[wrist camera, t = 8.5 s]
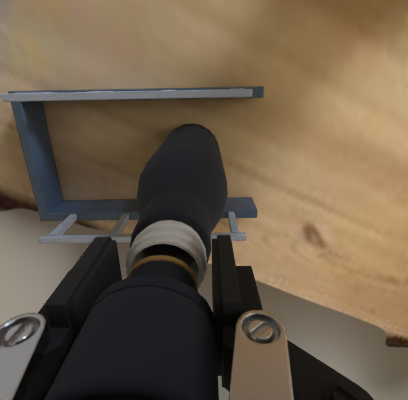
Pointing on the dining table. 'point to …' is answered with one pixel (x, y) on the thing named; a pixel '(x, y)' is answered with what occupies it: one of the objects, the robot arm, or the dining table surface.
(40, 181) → the dish rack
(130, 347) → the dark blue bottle
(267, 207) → the dining table surface
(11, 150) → the dining table surface
